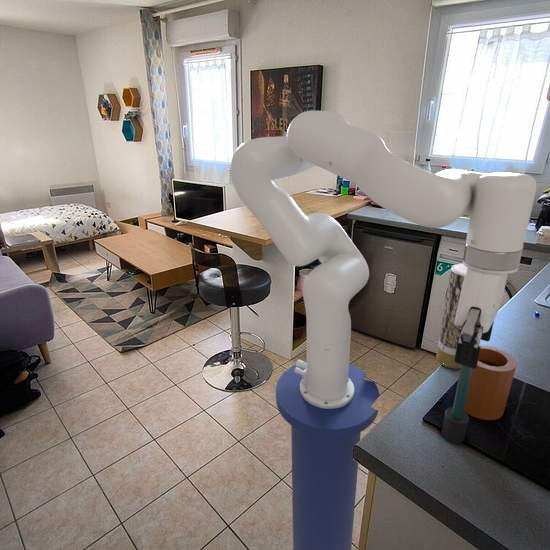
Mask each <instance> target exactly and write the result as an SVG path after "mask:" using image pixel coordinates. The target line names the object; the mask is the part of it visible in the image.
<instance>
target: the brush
mask: <svg viewBox="0 0 550 550" xmlns="http://www.w3.org/2000/svg"><path fill="white" fill-rule="evenodd" d="M472 370H473V368H470V367H467V366H464V365H461V368H460V370H459V375H458V379H457V386H456V391H455V396H454V399H453V405H452V407H448V408H447V409H445V411H444V416H443V422H442V427H441V435H442V437H443V438H444V440H446V441H447V442H450V443H453V444H461V443H463V442H464V441H465V438H466V433H467V430H468V425H469V421H470V417H469V414H467V413H466V412H464V407H465V402H466V398H467V393H468V389H469V384H470V379H471V375H472Z"/></svg>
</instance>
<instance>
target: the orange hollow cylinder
mask: <svg viewBox="0 0 550 550" xmlns="http://www.w3.org/2000/svg"><path fill="white" fill-rule="evenodd" d="M479 346H481V349H480V353H479V358H478V363H477V367H476V368H475V369H473V370H472V375H471V379H470V384H469V389H468V393H467V398H466V402H465V407H464V412H465V413H466V414H467V415H468V416H471V417H473V418H476V419H479V420H484V421H497V420H498V419H501V418H502V417H503V416H504V413H505V409H506V406H507V402H508V399H509V395H510V391H511V387H512V384H513V380H514V376H515V374H516V373H515V372H516V369H517V365H518V362H517V360H516V358H515V357H514V356H512V354H510V353H509V352H508V351H506V350H503V349H501V348H499V347H496V346H492V345H487V344H479Z"/></svg>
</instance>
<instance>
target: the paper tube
mask: <svg viewBox="0 0 550 550" xmlns="http://www.w3.org/2000/svg"><path fill="white" fill-rule="evenodd" d="M466 271H467V267H466V266H464V265H463V263H456V264H453V265H451V268H450V272H449V277H448V278H449V279H448V284H447V290H446V296H445V303H444V308H443V313H442V314H443V315H442V320H441V321H442V322H441V325H440V331H439V338H438V343H437V350H436V356H435V358H436V360H437V362H438V363H439V364H440V365H442V366H444V367H445V368H448V369H454V370H459V369H461V364H458V363H456V362H455V355H456V350H457V344H458V340H459V338H460V334H461V331H462V328H463V325H464V323H463V325H462V326H456V325H455V323H454V322H455V317H456V312H457V308H458V303H459V298H460V294H461V289H462V285H463V281H464V278H465V274H466ZM443 363H444V364H443Z"/></svg>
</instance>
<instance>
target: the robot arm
mask: <svg viewBox="0 0 550 550" xmlns="http://www.w3.org/2000/svg"><path fill="white" fill-rule="evenodd" d="M288 125H289V126H288V128H287V132H286V134H285V135H278V136H266V137H265V136H264V137H263V136H262V137H256V138H252V139H249V140H246V141H245V142H242V143H241V144H240V145H239V146H238V147H237V148H236V149H235V151H234V153H233V155H232V158H231V163H230V176H231V183H232V184H233V185H232V186H233V188H234V190H235V193H236V195H238V197H239V198H240V200H241V202H242V203H243V204H244V205H245V206H246V207H247V209H248V210H249V211H250V212H251V214H253V216H254V217H255V218H256V219H257V221H258V223H260V225H261V226H262V228H263V229H264V231H265V232H266V234H267V236H269V238H270V239H271V241H272V242H273V243H274V245H275V246H276V248H277V249H278V250H279V252H280V253H281V255H282V256H283V257H284V259H285V260H286V261H287V262H288V263H289V264H291V265H292V266H294V267H304V266H307V265H309V264H311V263H313V262H315V261H316V260H318V261H319V262H320V264H319V265H317V266H315V267H314V268H313V269H312V270H311V271H310V272H309V273H308V274H307V275H306V277H305V279H304V281H303V284H302V298H303V302H304V307H305V308H304V309H305V317H306V361H307V363H305V361H304V360H302V359H297V360H296V362H295V365H296V368H295V370H294V372H295V373H297V374H300V375H302V377H303V379H302V380H301V382H300V393H301V395H302V397H303V398H304V399H305V400H306V401H307V402H308V403H310V404H312V405H314V406H316V407H319V408H324V409H334V408H339V407H342V406H345V405H346V404H348V403H349V402H350V401H351V400H352V398H353V396H354V385H353V383H352V381H351V380H350V379H349V378H348V373H349V364H350V353H351V337H352V319H351V314H350V311H349V304H350V301H351V300H352V299H353V298H354V297H355V296H356V294H358V293H359V292H360V291H361V290H362V289H364V287H365V286H366V284H368V281H369V278H370V269H369V265H368V263H367V260H366V259H365V257H364V256H363V254H362V252H360V250H359V249H358V248H357V246H356V244H354V242H353V240H352V239H351V238H350V236H349V234H347V232H346V231H345V229H343V227H342V226H341V224H340V223H339V221H337V220H336V219H334V217H332V216H330V215H329V214H327V213H324V212H314V213H310V214H308V215H306V214H305V213H304V212H303V211H302V210H301V208H300V207H299V206H298V204H297V202H296V201H295V200H294V199H293V197H292V196H291V195H290V194H289V193H288V192H286V190H284V189H283V188H282V187H280V186H278V185H277V184H276V182H275V181H274V180H279V179H283V178H289V177H292V176H295V175H297V174H300V173H302V172H304V171H307V170H309V169H311V168H312V167H315V166H316V167H319V168H321V169H323V170H325V171H327V172H330V173H332V174H334V175H336V176H337V177H340V178H342V179H344V180H346V181H348V182H350V183H352V184H354V185H355V186H356V187H357V189H359V190H360V191H361V192H362V193H363V194H364V195H366V196H367V197H368V198H369V199H370V200H371V201H372V202H374V203H375V204H377V206H379V207H381V208H383V209H384V210H387V211H388V212H390V213H393V214H394V215H397V216H399V217H400V218H402V219H405V220H406V221H409V222H411V223H413V224H416V225H417V226H421V227H425V228H430V229H441V228H445V227H447V226H450V225H452V224H453V223H455V222H456V221H458V219H459V218H461V217H464V216H467V217H468V218H469V220H468V228H467V233H466V240H465V244H464V245H465V246H464V252H463V256H462V258H463V259H462V264H463V265H464V266H466V267H467V271H466V274H465V278H464V281H463V285H462V289H461V294H460V298H459V303H458V308H457V312H456V317H455V322H454V323H455V325H456V326H462V325H463V323H464V325H463V328H462V331H461V334H460V338H459V340H458V344H457V350H456V355H455V362H456V363H458V364H461V365H464V366H467V367H470V368H473V369H475V368H476V367H477V363H478V358H479V353H480V349H481V346H479V345H480V343H481V341H484V342H490V340H491V336H492V332H493V327H494V322H495V319H496V317H497V315H498V312H499V310H500V307H501V305H502V300H503V296H504V293H505V288H506V284H507V279H508V275H510V274H514V273H517V272H518V271H519V267H520V263H521V260H522V259H521V258H522V254H523V249H524V245H525V240H526V236H527V232H528V227H529V223H530V219H531V215H532V210H533V206H534V201H535V197H536V193H537V185H538V183H537V180H536V179H535V177H534V176H532V175H530V174H526V173H518V172H490V173H483V172H476V171H469V170H464V169H459V168H458V169H456V168H450V169H444V170H441V171H439V172H436V173H434V172H431V171H429V170H426V169H424V168H422V167H419V166H417V165H416V164H412V163H411V162H408V161H406V160H404V159H402V158H400V157H399V156H397V155H395V154H394V153H393V152H392V151H390V150H389V149H388V148H387V145H386V144H385V141H384V140H383V138H381V136H380V135H377V134H375V133H372V132H370V131H368V130H365V129H363V128H360V127H358V126H355V125H352V124H350V122H349V121H348V119H347V118H346V117H345V116H344V115H343V114H341V113H340V112H337V111H333V110H312V109H311V110H307V111H303V112H301V113H299V114H298V115H297V116H295V117H294V118H293V119H292V120H291V122H290V124H288ZM297 367H298V368H297ZM299 368H300V369H299ZM301 369H304V371H303V370H301Z"/></svg>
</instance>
